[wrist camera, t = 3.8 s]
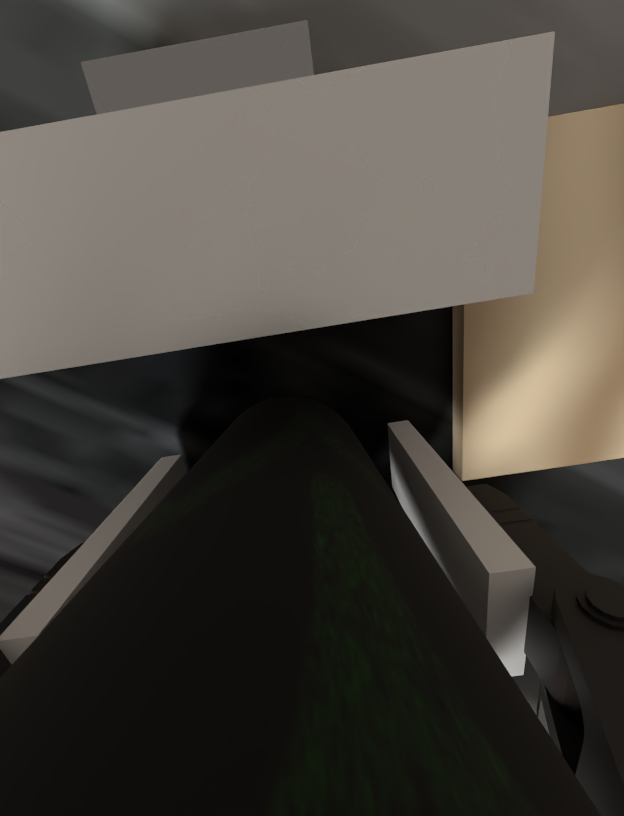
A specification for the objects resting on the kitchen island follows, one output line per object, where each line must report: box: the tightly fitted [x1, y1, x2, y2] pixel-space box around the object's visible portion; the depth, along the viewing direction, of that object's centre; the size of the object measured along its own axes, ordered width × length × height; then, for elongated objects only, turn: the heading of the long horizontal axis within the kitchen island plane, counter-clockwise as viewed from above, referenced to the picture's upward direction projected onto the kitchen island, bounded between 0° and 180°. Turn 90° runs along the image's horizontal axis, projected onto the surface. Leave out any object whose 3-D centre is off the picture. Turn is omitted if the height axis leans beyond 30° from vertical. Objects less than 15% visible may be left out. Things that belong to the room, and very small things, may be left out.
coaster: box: [453, 103, 624, 481], centre depth 10 cm, size 11×11×1 cm
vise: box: [0, 20, 555, 379], centre depth 10 cm, size 10×28×6 cm, turn 9°
